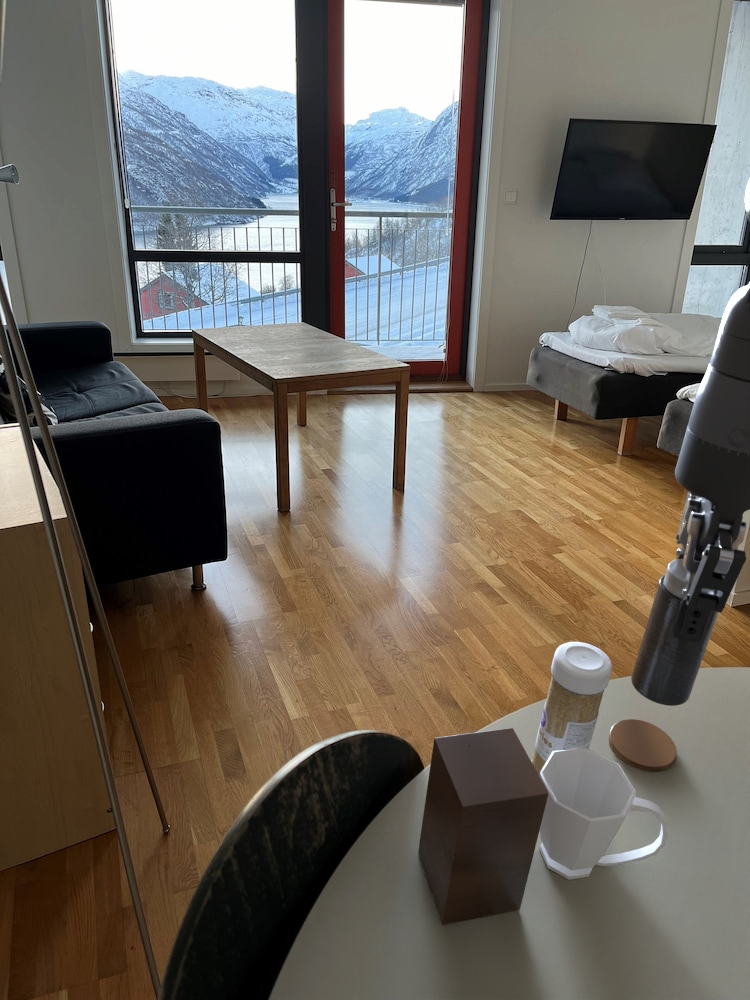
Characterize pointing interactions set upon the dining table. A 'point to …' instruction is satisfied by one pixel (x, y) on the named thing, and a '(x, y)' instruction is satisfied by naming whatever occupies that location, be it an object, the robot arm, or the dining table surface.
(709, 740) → the dining table surface
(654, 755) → the coaster
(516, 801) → the walnut stand
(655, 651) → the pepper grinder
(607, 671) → the sprinkles bottle
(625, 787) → the cup
